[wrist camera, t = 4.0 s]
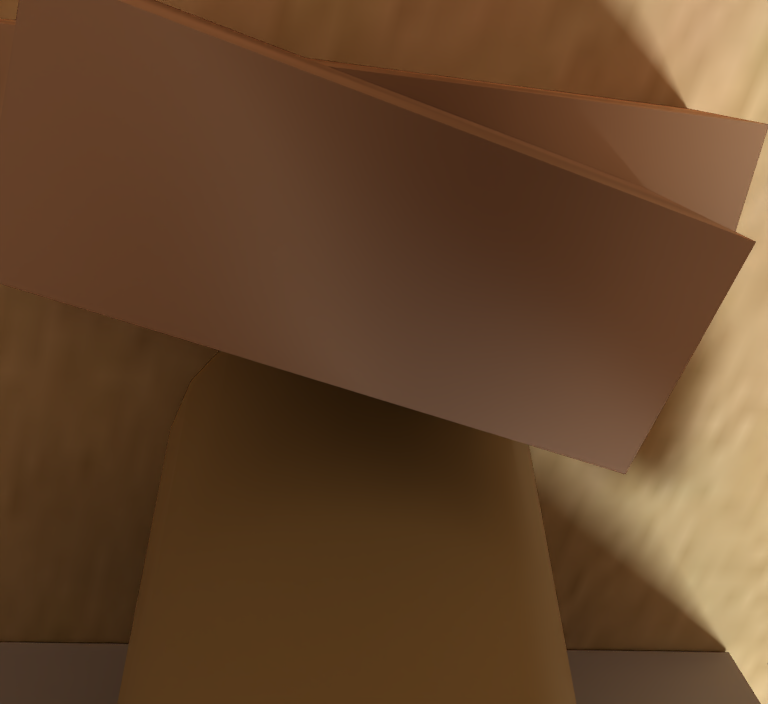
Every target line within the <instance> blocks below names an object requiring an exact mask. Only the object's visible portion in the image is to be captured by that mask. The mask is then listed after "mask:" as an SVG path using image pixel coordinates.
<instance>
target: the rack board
mask: <svg viewBox="0 0 768 704" xmlns="http://www.w3.org/2000/svg"><path fill="white" fill-rule="evenodd" d="M128 645H129V644H99V643H28V642H0V704H117V702H118V697H119V692H120V687H121V682H122V676H123V671H124V666H125V661H126V656H127V650H128ZM567 655H568V660H569V666H570V671H571V677H572V682H573V688H574V693H575V698H576V704H761V703H760V702H759V700H758V699H757V697H756V695H755V694H754V692H753V691H752V689H751V687H750V686H749V684H748V683H747V681H746V679H745V678H744V676H743V675H742V673H741V671H740V670H739V668H738V667H737V665H736V663H735V662H734V660H733V659H732V657H731V655H730V654H729V652H669V651H598V650H567Z"/></svg>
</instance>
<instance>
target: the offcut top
mask: <svg viewBox="0 0 768 704" xmlns="http://www.w3.org/2000/svg"><path fill="white" fill-rule="evenodd" d="M755 243H756V242H755V241H753V240H751V239H749V238H747V237H745V236H743V235H741V234H739V233H737V232H735V231H733V230H731V229H729V228H727V227H724V226H722V225H720V224H718V223H716V222H714V221H712V220H710V219H708V218H706V217H704V216H702V215H700V214H698V213H696V212H694V211H692V210H690V209H688V208H686V207H684V206H682V205H680V204H677V203H675V202H673V201H671V200H669V199H667V198H665V197H663V196H661V195H659V194H657V193H655V192H653V191H651V190H649V189H647V188H645V187H642V186H639V185H637V184H634V183H632V182H629V181H626V180H624V179H621V178H618V177H616V176H613V175H611V174H608V173H605V172H603V171H600V170H598V169H595V168H592V167H590V166H587V165H584V164H582V163H579V162H577V161H574V160H571V159H569V158H566V157H564V156H561V155H558V154H556V153H553V152H550V151H548V150H545V149H543V148H540V147H537V146H535V145H532V144H529V143H527V142H524V141H522V140H519V139H516V138H514V137H511V136H509V135H506V134H503V133H501V132H498V131H495V130H493V129H490V128H488V127H485V126H482V125H480V124H477V123H474V122H472V121H469V120H467V119H464V118H461V117H459V116H456V115H454V114H451V113H448V112H446V111H443V110H440V109H438V108H435V107H433V106H430V105H427V104H425V103H422V102H420V101H417V100H414V99H412V98H409V97H406V96H404V95H401V94H399V93H396V92H393V91H391V90H388V89H385V88H383V87H380V86H378V85H375V84H372V83H370V82H367V81H365V80H362V79H359V78H357V77H354V76H351V75H349V74H346V73H344V72H341V71H338V70H336V69H333V68H331V67H328V66H325V65H323V64H320V63H317V62H315V61H312V60H310V59H307V58H304V57H302V56H299V55H296V54H294V53H291V52H289V51H286V50H283V49H281V48H278V47H276V46H273V45H270V44H268V43H265V42H262V41H260V40H257V39H255V38H252V37H249V36H247V35H244V34H241V33H239V32H236V31H234V30H231V29H228V28H226V27H223V26H221V25H218V24H215V23H213V22H210V21H207V20H205V19H202V18H200V17H197V16H194V15H192V14H189V13H187V12H184V11H181V10H179V9H176V8H173V7H171V6H168V5H166V4H163V3H160V2H158V1H155V0H19V4H18V10H17V17H16V23H15V29H14V36H13V42H12V48H11V55H10V61H9V68H8V74H7V80H6V87H5V93H4V100H3V106H2V112H1V119H0V284H3V285H6V286H9V287H13V288H16V289H19V290H23V291H26V292H29V293H32V294H36V295H39V296H42V297H46V298H49V299H52V300H55V301H59V302H62V303H65V304H69V305H72V306H75V307H78V308H82V309H85V310H88V311H91V312H95V313H98V314H101V315H105V316H108V317H111V318H114V319H118V320H121V321H124V322H128V323H131V324H134V325H137V326H141V327H144V328H147V329H150V330H154V331H157V332H160V333H164V334H167V335H170V336H173V337H177V338H180V339H183V340H187V341H190V342H193V343H196V344H200V345H203V346H206V347H210V348H213V349H216V350H219V351H223V352H226V353H229V354H232V355H236V356H239V357H242V358H246V359H249V360H252V361H255V362H259V363H262V364H265V365H269V366H272V367H275V368H278V369H282V370H285V371H288V372H292V373H295V374H298V375H301V376H305V377H308V378H311V379H314V380H318V381H321V382H324V383H328V384H331V385H334V386H337V387H341V388H344V389H347V390H351V391H354V392H357V393H360V394H364V395H367V396H370V397H374V398H377V399H380V400H383V401H387V402H390V403H393V404H396V405H400V406H403V407H406V408H410V409H413V410H416V411H419V412H423V413H426V414H429V415H433V416H436V417H439V418H442V419H446V420H449V421H452V422H456V423H459V424H462V425H465V426H469V427H472V428H475V429H478V430H482V431H485V432H488V433H492V434H495V435H498V436H501V437H505V438H508V439H511V440H515V441H518V442H521V443H524V444H528V445H531V446H534V447H537V448H541V449H544V450H547V451H551V452H554V453H557V454H560V455H564V456H567V457H570V458H574V459H577V460H580V461H583V462H587V463H590V464H593V465H597V466H600V467H603V468H606V469H610V470H613V471H616V472H619V473H623V474H626V472H627V470H628V469H629V467H630V465H631V463H632V462H633V460H634V458H635V456H636V454H637V453H638V451H639V449H640V447H641V446H642V444H643V442H644V440H645V438H646V437H647V435H648V433H649V431H650V430H651V428H652V426H653V424H654V422H655V421H656V419H657V417H658V415H659V414H660V412H661V410H662V408H663V406H664V405H665V403H666V401H667V399H668V397H669V396H670V394H671V392H672V390H673V389H674V387H675V385H676V383H677V381H678V380H679V378H680V376H681V374H682V373H683V371H684V369H685V367H686V365H687V364H688V362H689V360H690V358H691V357H692V355H693V353H694V351H695V349H696V348H697V346H698V344H699V342H700V341H701V339H702V337H703V335H704V333H705V332H706V330H707V328H708V326H709V324H710V323H711V321H712V319H713V317H714V316H715V314H716V312H717V310H718V308H719V307H720V305H721V303H722V301H723V300H724V298H725V296H726V294H727V292H728V291H729V289H730V287H731V285H732V284H733V282H734V280H735V278H736V276H737V275H738V273H739V271H740V269H741V268H742V266H743V264H744V262H745V260H746V259H747V257H748V255H749V253H750V252H751V250H752V248H753V246H754V244H755Z"/></svg>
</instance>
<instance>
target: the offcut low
mask: <svg viewBox="0 0 768 704" xmlns="http://www.w3.org/2000/svg"><path fill="white" fill-rule="evenodd" d="M15 23H16V20H9V19H0V119H1V112H2V106H3V100H4V93H5V87H6V80H7V74H8V68H9V61H10V55H11V48H12V42H13V36H14V29H15ZM307 59H310V58H307ZM310 60H312V61H315V62H317V63H320V64H323V65H325V66H328V67H331V68H333V69H336V70H338V71H341V72H344V73H346V74H349V75H351V76H354V77H357V78H359V79H362V80H365V81H367V82H370V83H372V84H375V85H378V86H380V87H383V88H385V89H388V90H391V91H393V92H396V93H399V94H401V95H404V96H406V97H409V98H412V99H414V100H417V101H420V102H422V103H425V104H427V105H430V106H433V107H435V108H438V109H440V110H443V111H446V112H448V113H451V114H454V115H456V116H459V117H461V118H464V119H467V120H469V121H472V122H474V123H477V124H480V125H482V126H485V127H488V128H490V129H493V130H495V131H498V132H501V133H503V134H506V135H509V136H511V137H514V138H516V139H519V140H522V141H524V142H527V143H529V144H532V145H535V146H537V147H540V148H543V149H545V150H548V151H550V152H553V153H556V154H558V155H561V156H564V157H566V158H569V159H571V160H574V161H577V162H579V163H582V164H584V165H587V166H590V167H592V168H595V169H598V170H600V171H603V172H605V173H608V174H611V175H613V176H616V177H618V178H621V179H624V180H626V181H629V182H632V183H634V184H637V185H639V186H642V187H645V188H647V189H649V190H651V191H653V192H655V193H657V194H659V195H661V196H663V197H665V198H667V199H669V200H671V201H673V202H675V203H677V204H680V205H682V206H684V207H686V208H688V209H690V210H692V211H694V212H696V213H698V214H700V215H702V216H704V217H706V218H708V219H710V220H712V221H714V222H716V223H718V224H720V225H722V226H724V227H727V228H729V229H731V230H733V231H736V228H737V225H738V222H739V218H740V215H741V212H742V209H743V206H744V203H745V199H746V196H747V193H748V190H749V187H750V183H751V180H752V177H753V174H754V171H755V168H756V164H757V161H758V158H759V155H760V152H761V148H762V145H763V142H764V139H765V136H766V133H767V129H768V124H764V123H759V122H754V121H749V120H744V119H739V118H734V117H728V116H723V115H718V114H713V113H708V112H703V111H698V110H693V109H687V108H680V107H672V106H665V105H657V104H650V103H642V102H634V101H627V100H619V99H612V98H604V97H597V96H589V95H582V94H574V93H566V92H559V91H551V90H544V89H536V88H529V87H521V86H514V85H506V84H498V83H491V82H483V81H476V80H468V79H461V78H453V77H446V76H438V75H430V74H423V73H415V72H408V71H400V70H393V69H385V68H378V67H370V66H362V65H355V64H347V63H340V62H332V61H325V60H317V59H310Z"/></svg>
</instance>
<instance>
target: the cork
mask: <svg viewBox="0 0 768 704" xmlns="http://www.w3.org/2000/svg"><path fill="white" fill-rule="evenodd" d="M117 704H576V698H575V693H574V688H573V682H572V677H571V671H570V666H569V660H568V655H567V650H566V644H565V639H564V633H563V628H562V622H561V617H560V612H559V606H558V601H557V595H556V590H555V585H554V579H553V574H552V568H551V563H550V557H549V552H548V547H547V541H546V536H545V530H544V525H543V519H542V514H541V509H540V503H539V498H538V492H537V487H536V482H535V476H534V471H533V465H532V460H531V454H530V449H529V445H528V444H524V443H521V442H518V441H515V440H511V439H508V438H505V437H501V436H498V435H495V434H492V433H488V432H485V431H482V430H478V429H475V428H472V427H469V426H465V425H462V424H459V423H456V422H452V421H449V420H446V419H442V418H439V417H436V416H433V415H429V414H426V413H423V412H419V411H416V410H413V409H410V408H406V407H403V406H400V405H396V404H393V403H390V402H387V401H383V400H380V399H377V398H374V397H370V396H367V395H364V394H360V393H357V392H354V391H351V390H347V389H344V388H341V387H337V386H334V385H331V384H328V383H324V382H321V381H318V380H314V379H311V378H308V377H305V376H301V375H298V374H295V373H292V372H288V371H285V370H282V369H278V368H275V367H272V366H269V365H265V364H262V363H259V362H255V361H252V360H249V359H246V358H242V357H239V356H236V355H232V354H229V353H226V352H223V351H219V352H218V353H217V354H216V355H215V356H214V357H213V358H212V359H211V360H210V361H209V362H208V364H207V365H206V366H205V367H204V368H203V369H202V370H201V371H200V372H199V373H198V374H197V375H196V376H195V377H194V378H193V379H192V380H191V382H190V384H189V386H188V389H187V391H186V393H185V396H184V398H183V400H182V403H181V405H180V407H179V410H178V412H177V414H176V417H175V419H174V421H173V424H172V426H171V428H170V432H169V438H168V443H167V448H166V453H165V458H164V463H163V469H162V474H161V479H160V484H159V489H158V495H157V500H156V505H155V510H154V515H153V521H152V526H151V531H150V536H149V541H148V547H147V552H146V557H145V562H144V567H143V573H142V578H141V583H140V588H139V593H138V599H137V604H136V609H135V614H134V619H133V625H132V630H131V635H130V640H129V645H128V650H127V656H126V661H125V666H124V671H123V676H122V682H121V687H120V692H119V697H118V702H117Z"/></svg>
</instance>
